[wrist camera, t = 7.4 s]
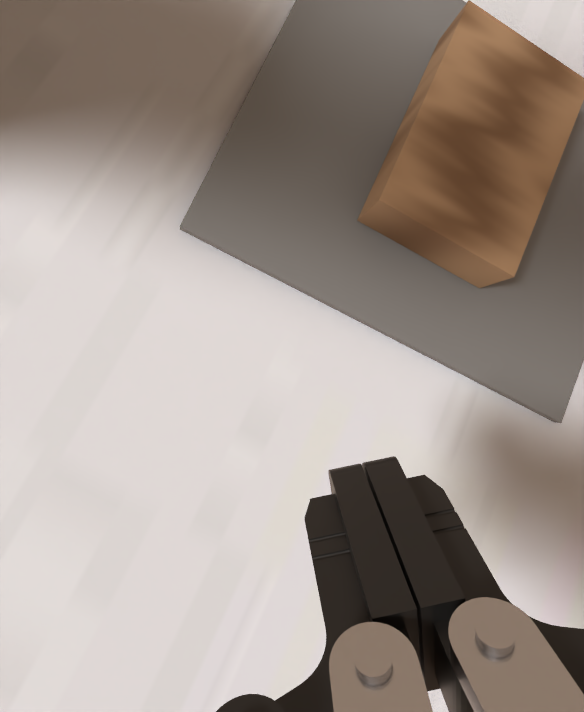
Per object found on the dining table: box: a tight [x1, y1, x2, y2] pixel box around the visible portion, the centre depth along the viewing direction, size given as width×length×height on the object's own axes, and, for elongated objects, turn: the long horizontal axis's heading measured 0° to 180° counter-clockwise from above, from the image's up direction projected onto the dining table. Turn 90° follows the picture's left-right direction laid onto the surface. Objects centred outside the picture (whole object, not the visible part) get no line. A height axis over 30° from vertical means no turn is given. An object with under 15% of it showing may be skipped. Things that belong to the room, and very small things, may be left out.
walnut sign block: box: [357, 1, 584, 288], centre depth 27 cm, size 8×3×12 cm
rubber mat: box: [180, 0, 584, 423], centre depth 28 cm, size 24×20×1 cm
